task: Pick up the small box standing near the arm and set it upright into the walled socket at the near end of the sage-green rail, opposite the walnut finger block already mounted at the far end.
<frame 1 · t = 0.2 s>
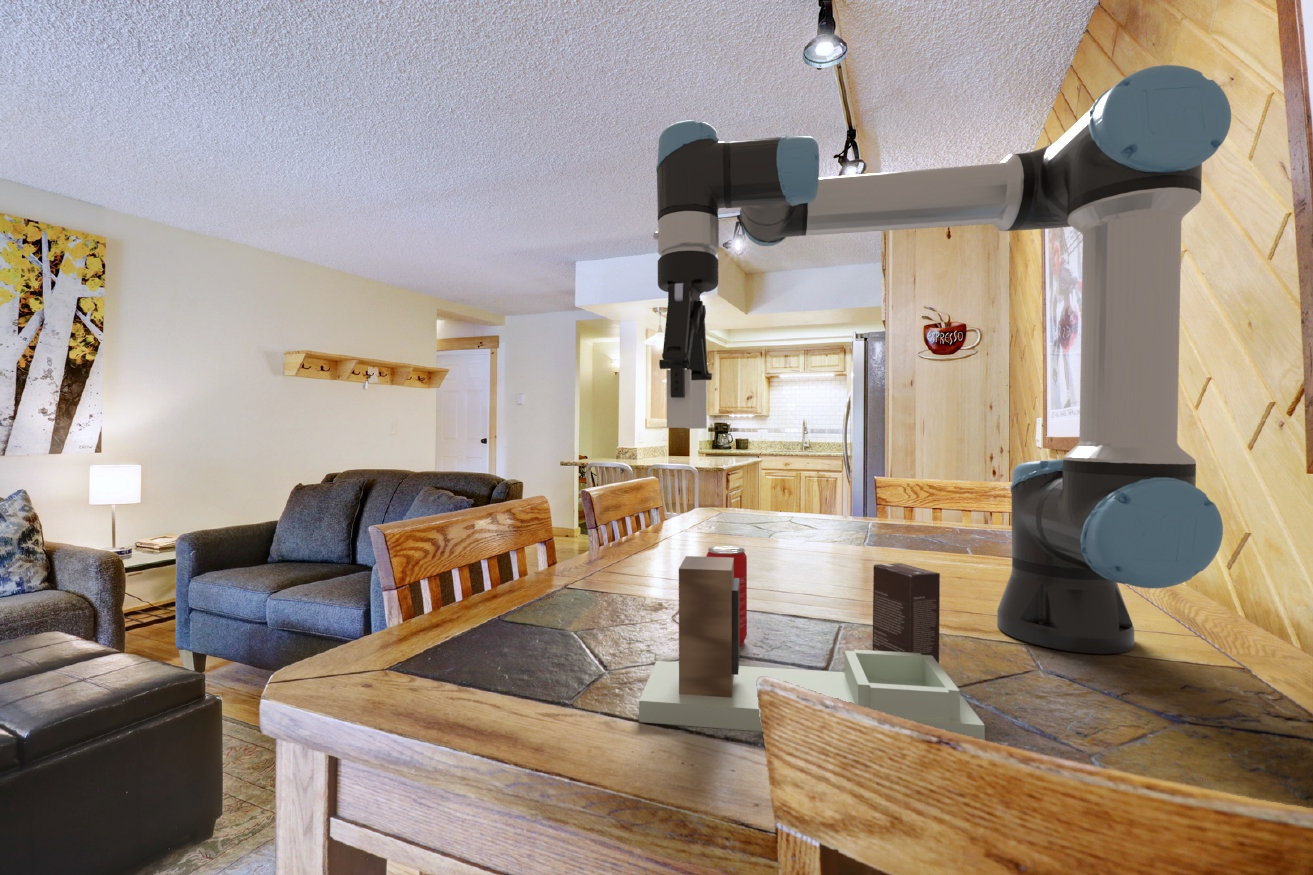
hand: (688, 428, 75), 28 cm above the table, fingers open, 13 cm apart
box: (905, 678, 67), on the table
rail: (800, 709, 59), on the table
beverage can: (726, 643, 78), on the table
mounted finger: (707, 702, 61), resting on rail
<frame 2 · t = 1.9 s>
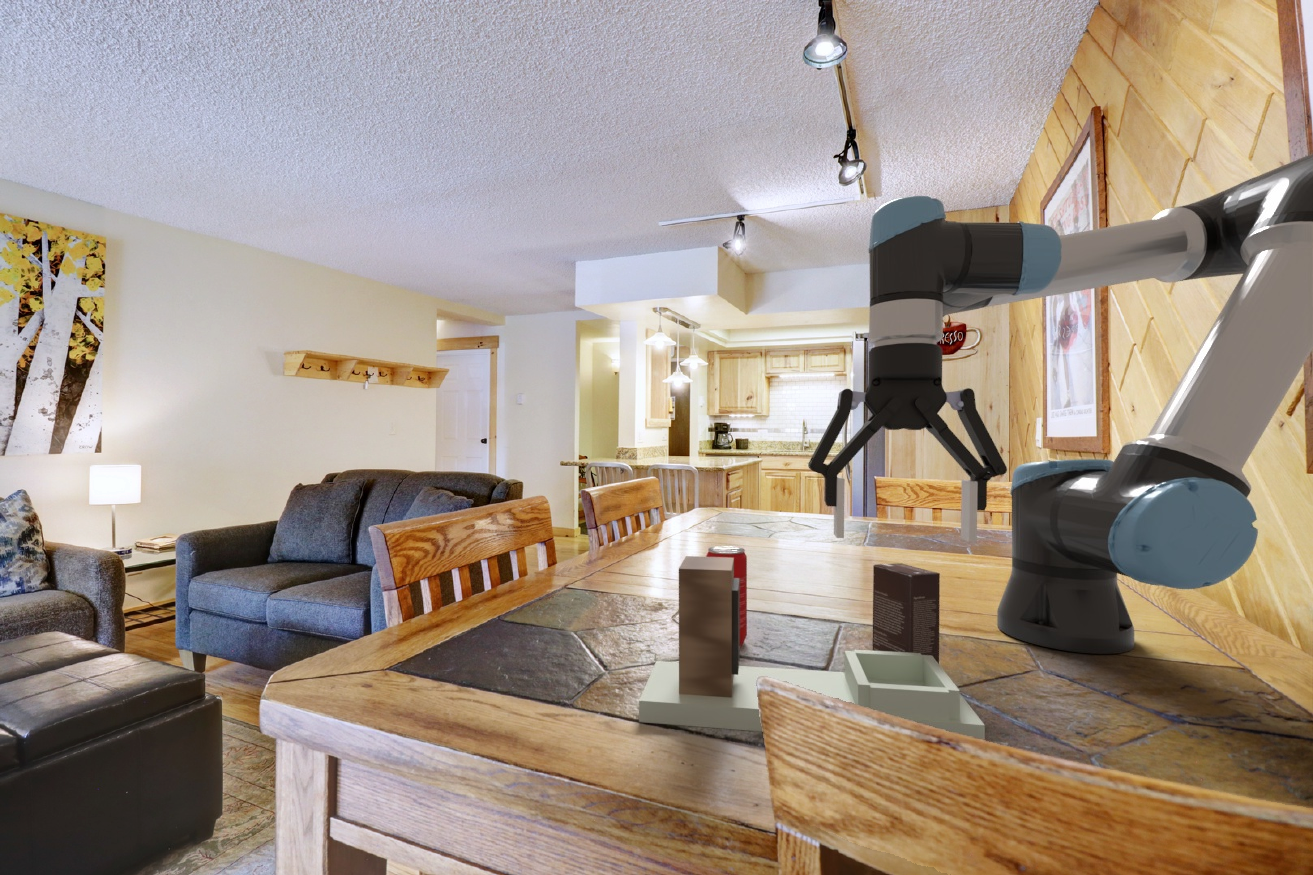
hand: (902, 538, 67), 15 cm above the table, fingers open, 13 cm apart
nothing on the table moved.
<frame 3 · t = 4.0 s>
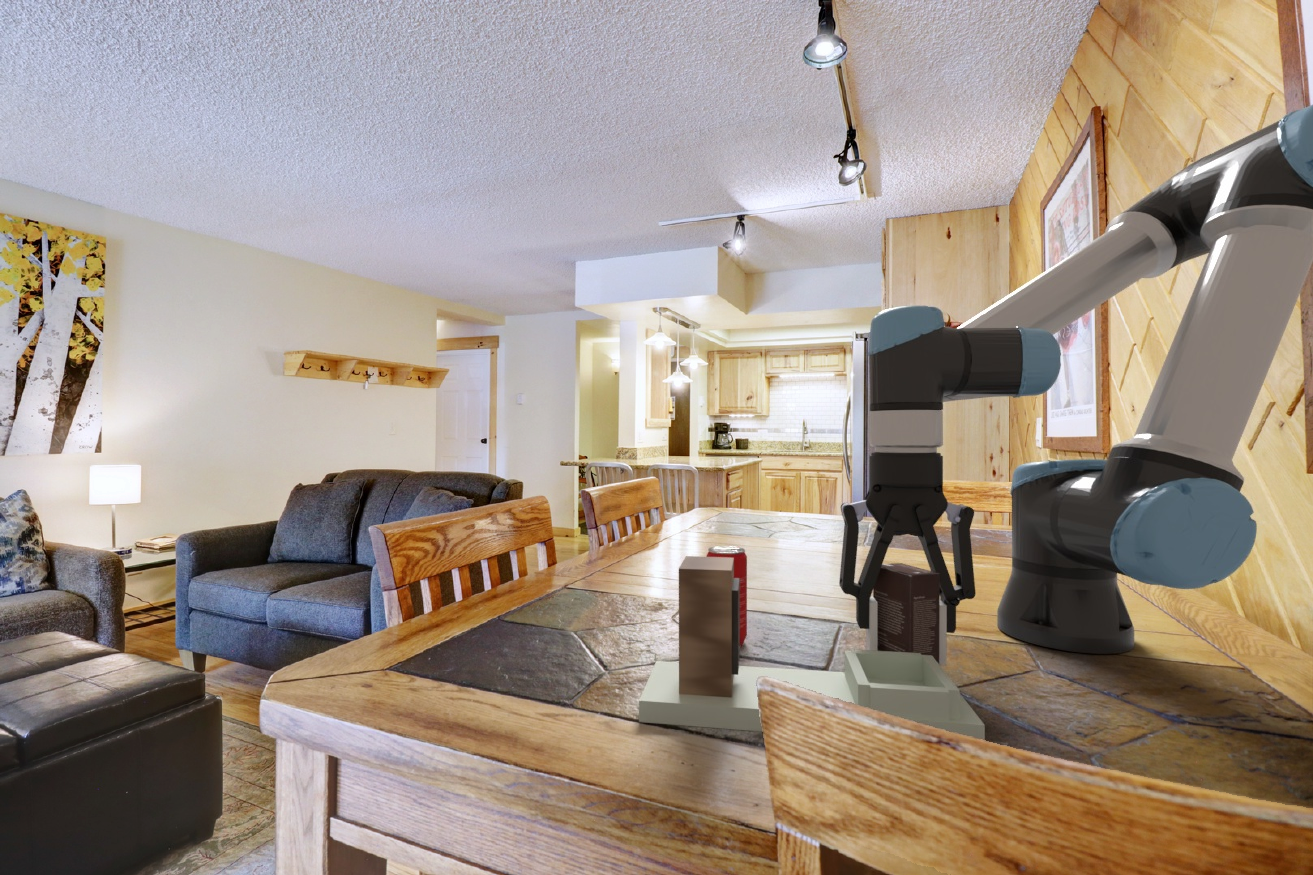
hand: (905, 658, 67), 2 cm above the table, fingers closed on box, 6 cm apart
box: (905, 678, 67), on the table, touching gripper
everything else where it was.
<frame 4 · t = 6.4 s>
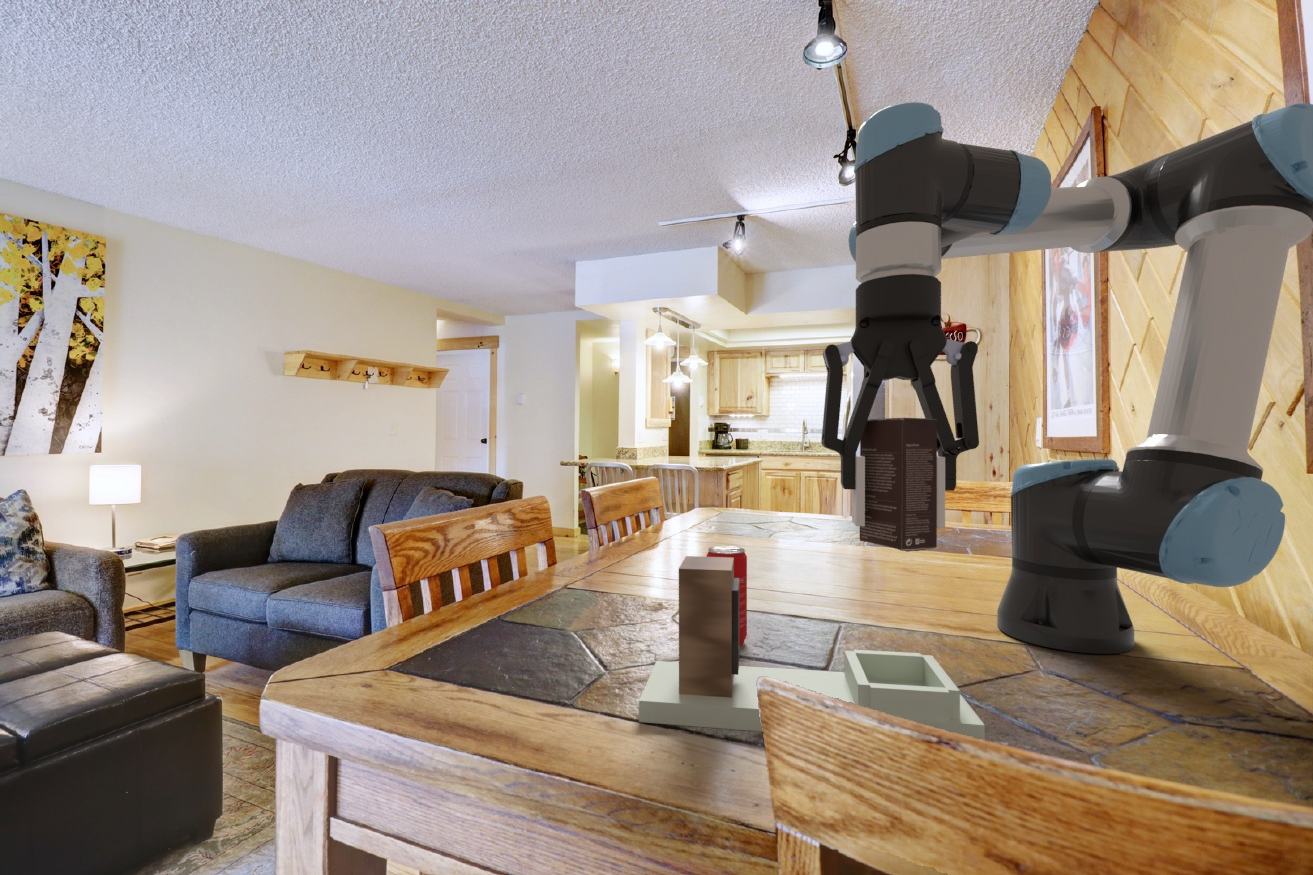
hand: (897, 524, 58), 18 cm above the table, fingers closed on box, 6 cm apart
box: (897, 547, 58), point 16 cm above the table, touching gripper
everything else where it was.
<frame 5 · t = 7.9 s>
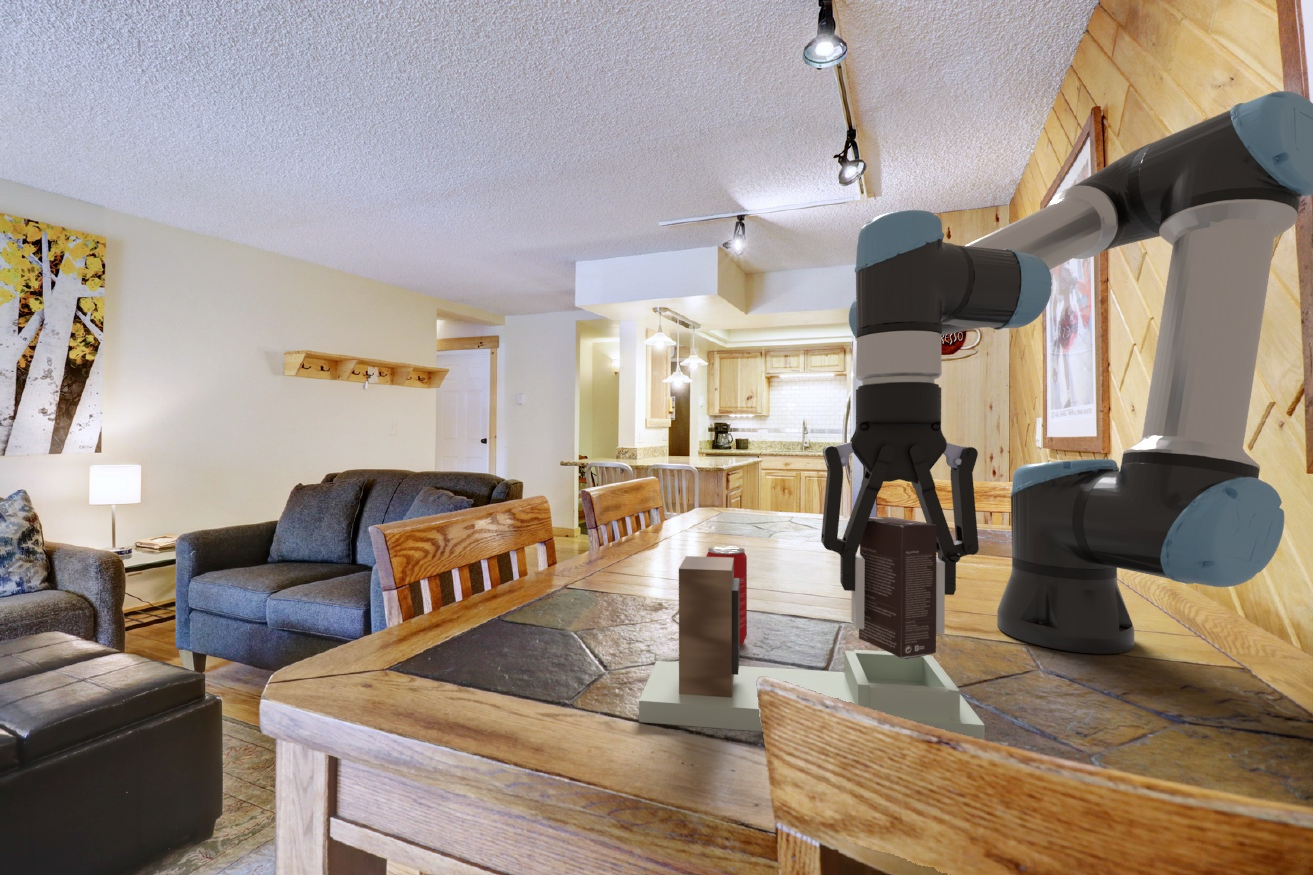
hand: (896, 625, 58), 9 cm above the table, fingers closed on box, 6 cm apart
box: (896, 648, 58), point 6 cm above the table, touching gripper
everything else where it was.
when the fingers open (6 cm above the table, at t = 9.1 s): box drops 2 cm, resting on rail.
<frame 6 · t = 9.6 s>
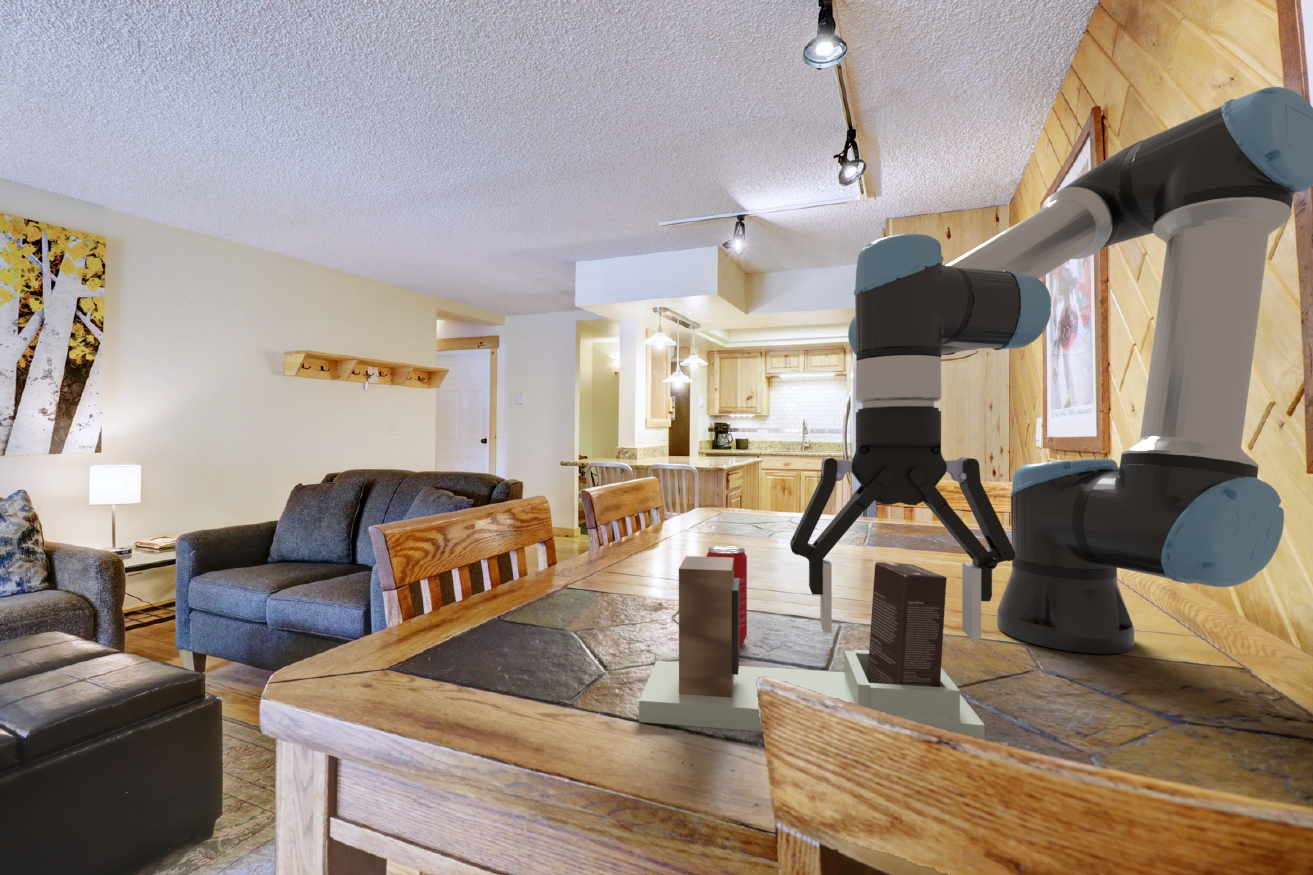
hand: (897, 631, 58), 8 cm above the table, fingers open, 12 cm apart
box: (902, 697, 57), point 2 cm above the table, touching rail
everything else where it was.
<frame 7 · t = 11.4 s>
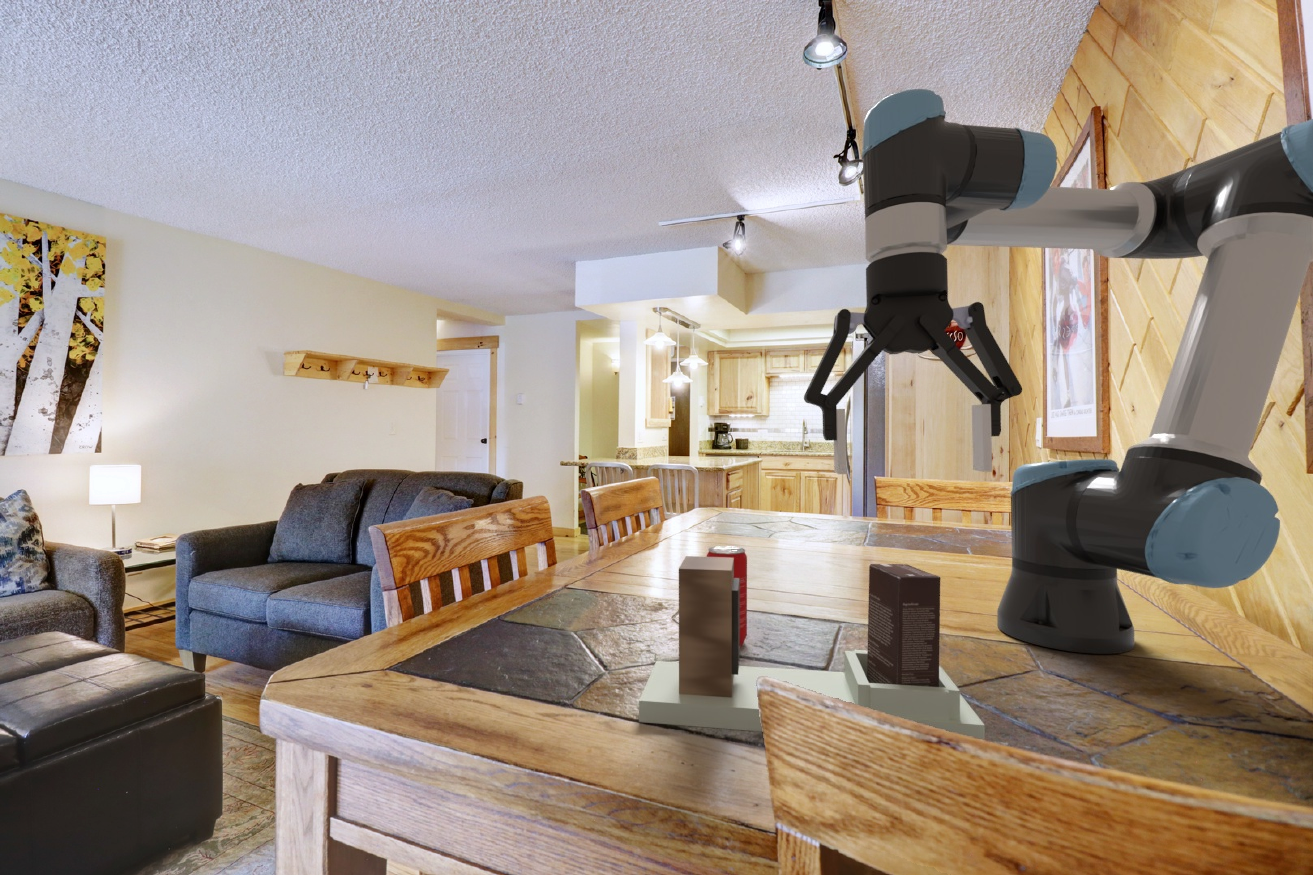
hand: (910, 472, 61), 23 cm above the table, fingers open, 13 cm apart
nothing on the table moved.
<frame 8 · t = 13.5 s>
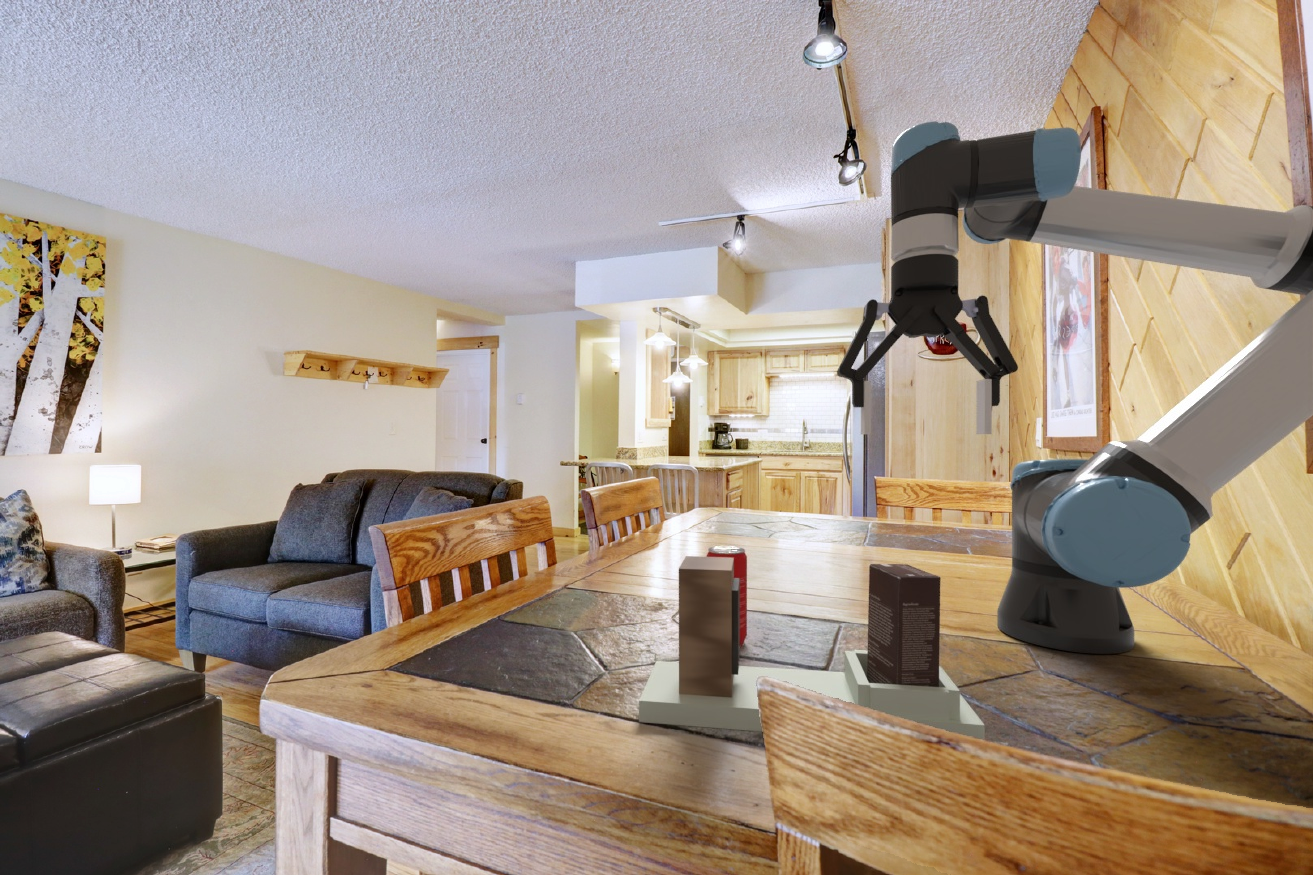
hand: (923, 434, 74), 27 cm above the table, fingers open, 13 cm apart
nothing on the table moved.
at the end: box 0.4 cm from the target spot on the rail, point 1.8 cm above the rail's base; box tilted 0°; the gripper is holding nothing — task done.
